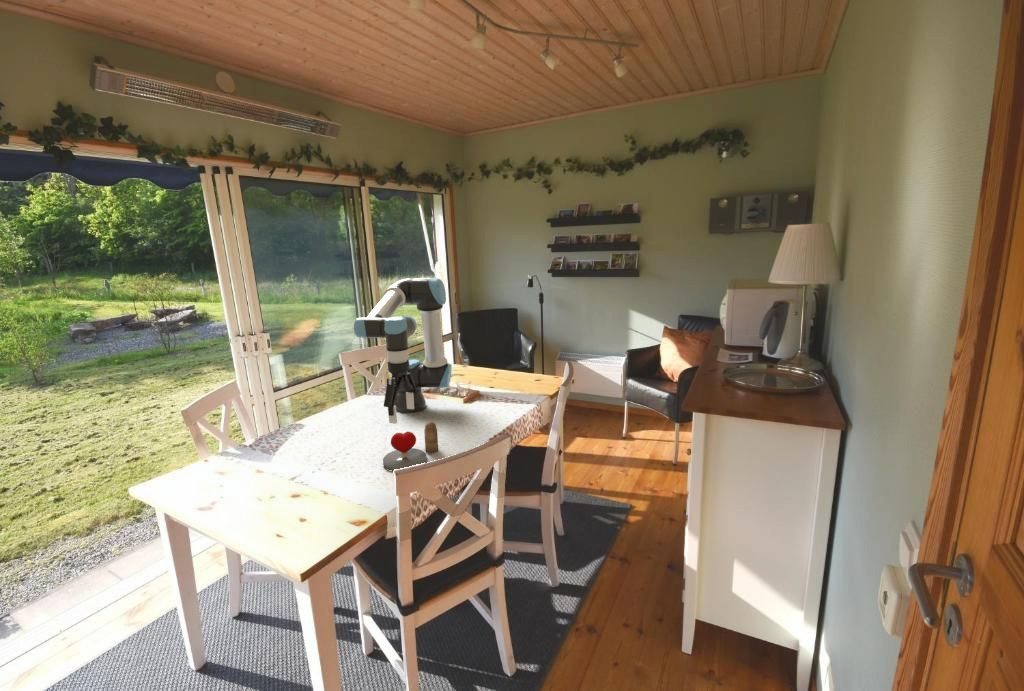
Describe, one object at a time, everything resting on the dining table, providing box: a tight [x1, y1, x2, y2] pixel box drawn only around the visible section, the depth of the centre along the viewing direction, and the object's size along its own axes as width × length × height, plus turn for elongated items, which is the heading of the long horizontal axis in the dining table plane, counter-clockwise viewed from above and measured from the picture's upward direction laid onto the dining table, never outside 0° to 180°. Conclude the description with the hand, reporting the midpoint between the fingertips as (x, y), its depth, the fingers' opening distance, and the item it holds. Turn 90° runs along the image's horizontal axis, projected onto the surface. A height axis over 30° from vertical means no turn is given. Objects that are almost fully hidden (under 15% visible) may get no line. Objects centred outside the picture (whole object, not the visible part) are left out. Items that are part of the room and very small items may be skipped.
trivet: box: [382, 447, 427, 472], centre depth 179 cm, size 16×16×2 cm
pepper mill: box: [423, 421, 439, 454], centre depth 187 cm, size 5×5×12 cm
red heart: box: [390, 431, 417, 458], centre depth 178 cm, size 9×7×10 cm
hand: (402, 415), depth 175 cm, fingers open, 13 cm apart
